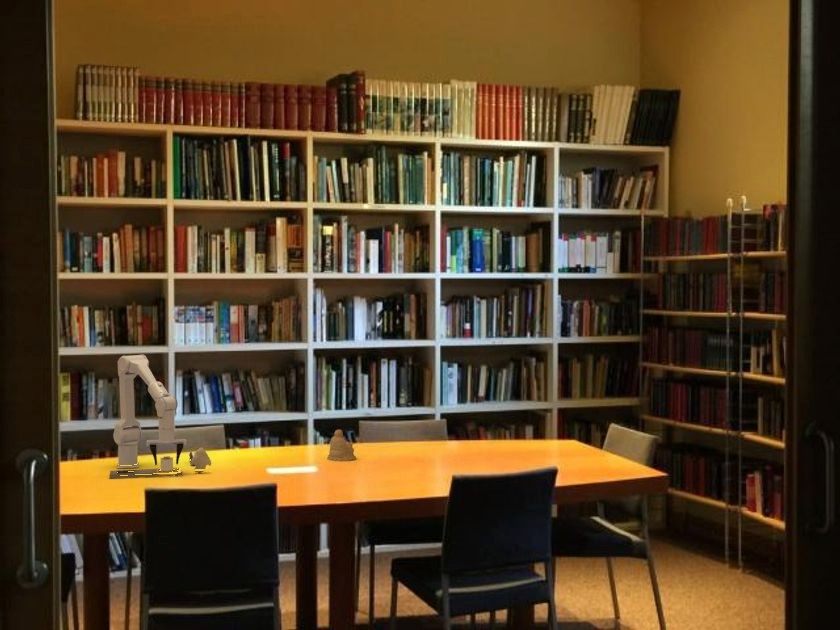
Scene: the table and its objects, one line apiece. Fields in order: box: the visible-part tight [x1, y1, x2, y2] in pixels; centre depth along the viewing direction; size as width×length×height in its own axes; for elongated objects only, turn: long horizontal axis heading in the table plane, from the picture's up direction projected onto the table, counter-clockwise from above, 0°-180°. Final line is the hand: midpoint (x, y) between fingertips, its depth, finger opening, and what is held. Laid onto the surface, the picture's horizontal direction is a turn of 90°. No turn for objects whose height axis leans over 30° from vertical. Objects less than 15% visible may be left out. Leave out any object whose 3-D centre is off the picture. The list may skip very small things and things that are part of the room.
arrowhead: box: [189, 447, 212, 473], centre depth 404 cm, size 8×3×10 cm, turn 104°
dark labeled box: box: [188, 451, 197, 467], centre depth 423 cm, size 14×25×4 cm, turn 15°
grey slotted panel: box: [109, 467, 183, 480], centre depth 399 cm, size 8×26×2 cm, turn 104°
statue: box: [327, 429, 357, 463], centre depth 435 cm, size 12×14×10 cm
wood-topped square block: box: [160, 455, 174, 472], centre depth 401 cm, size 4×4×6 cm
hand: (166, 464), depth 401 cm, fingers open, 7 cm apart
